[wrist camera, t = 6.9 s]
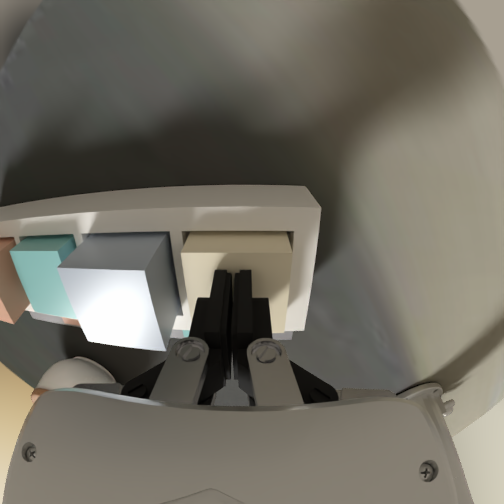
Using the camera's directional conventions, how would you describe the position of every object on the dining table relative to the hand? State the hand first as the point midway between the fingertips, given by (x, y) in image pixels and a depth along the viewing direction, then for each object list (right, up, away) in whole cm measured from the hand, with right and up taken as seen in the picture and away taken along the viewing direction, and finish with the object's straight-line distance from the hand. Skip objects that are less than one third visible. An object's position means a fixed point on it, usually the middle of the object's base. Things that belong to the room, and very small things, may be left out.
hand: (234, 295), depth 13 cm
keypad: (-9, +1, +6) cm, 11 cm away
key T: (-12, +2, +5) cm, 13 cm away
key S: (-6, +2, +3) cm, 7 cm away
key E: (0, +2, +5) cm, 5 cm away
